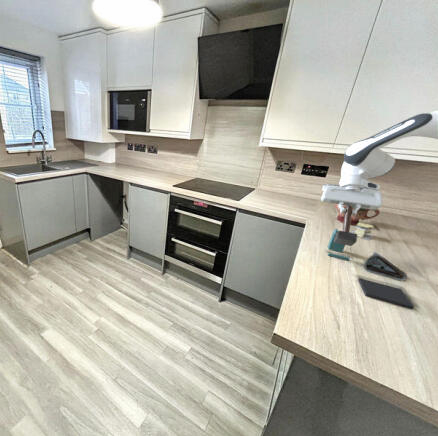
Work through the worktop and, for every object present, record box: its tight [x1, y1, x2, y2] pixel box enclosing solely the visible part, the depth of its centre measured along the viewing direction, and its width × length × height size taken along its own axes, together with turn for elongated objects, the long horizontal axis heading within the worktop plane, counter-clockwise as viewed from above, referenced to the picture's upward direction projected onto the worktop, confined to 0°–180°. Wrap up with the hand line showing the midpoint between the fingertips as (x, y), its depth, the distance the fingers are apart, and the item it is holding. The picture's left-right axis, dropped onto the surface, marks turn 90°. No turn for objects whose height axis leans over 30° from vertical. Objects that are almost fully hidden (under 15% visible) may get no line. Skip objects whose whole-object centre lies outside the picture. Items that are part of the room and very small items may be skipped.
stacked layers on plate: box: [349, 222, 376, 241], centre depth 121 cm, size 10×9×6 cm
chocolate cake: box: [363, 252, 408, 282], centre depth 90 cm, size 10×7×12 cm
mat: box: [357, 277, 415, 310], centre depth 76 cm, size 11×10×1 cm
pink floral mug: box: [334, 204, 380, 226], centre depth 137 cm, size 20×12×14 cm, turn 47°
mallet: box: [334, 205, 358, 247], centre depth 98 cm, size 6×14×14 cm, turn 150°
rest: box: [327, 228, 350, 261], centre depth 100 cm, size 7×10×9 cm
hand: (348, 213), depth 99 cm, fingers closed on mallet, 2 cm apart
